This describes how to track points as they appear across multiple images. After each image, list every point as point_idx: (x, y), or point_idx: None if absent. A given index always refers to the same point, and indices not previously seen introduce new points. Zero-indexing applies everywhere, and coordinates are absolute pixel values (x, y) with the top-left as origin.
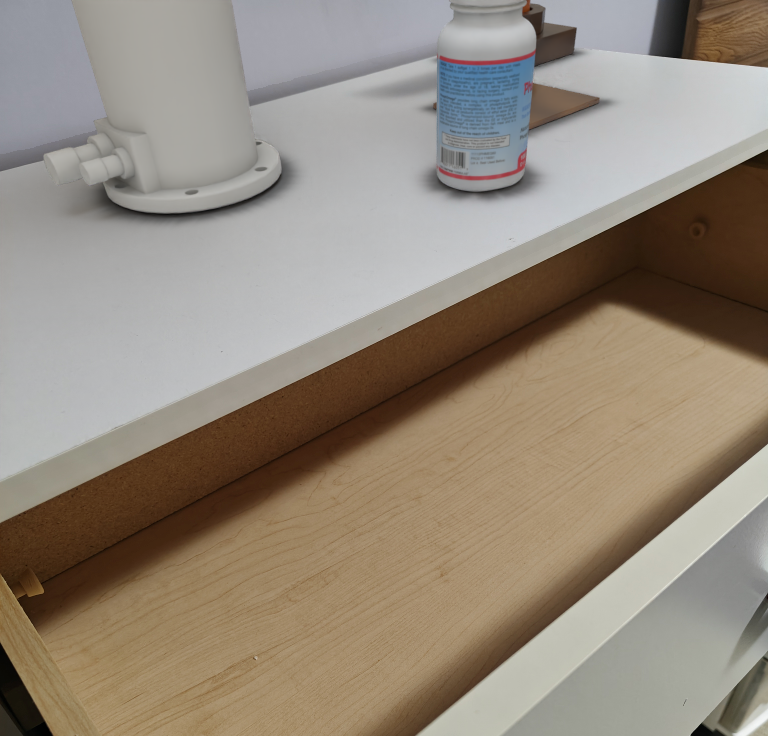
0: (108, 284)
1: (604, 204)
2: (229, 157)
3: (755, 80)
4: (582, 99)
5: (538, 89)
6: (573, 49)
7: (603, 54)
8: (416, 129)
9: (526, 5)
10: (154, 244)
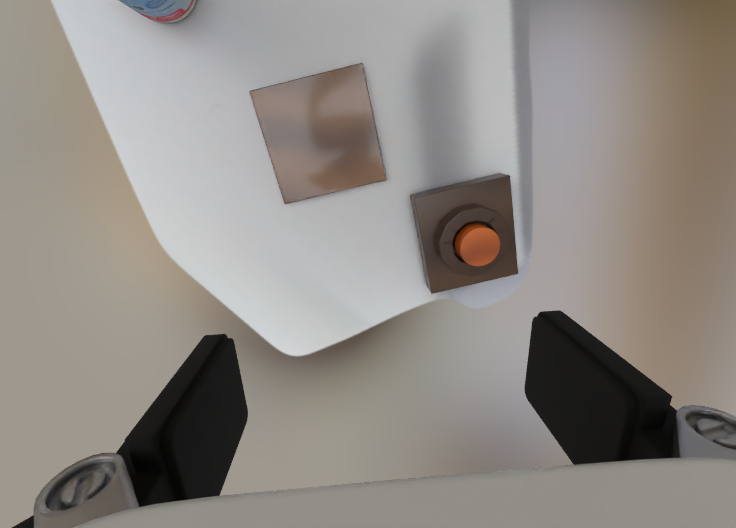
0: None
1: (67, 37)
2: None
3: (267, 337)
4: (288, 188)
5: (337, 176)
6: (427, 285)
7: (406, 302)
8: (314, 9)
9: (457, 250)
10: None
